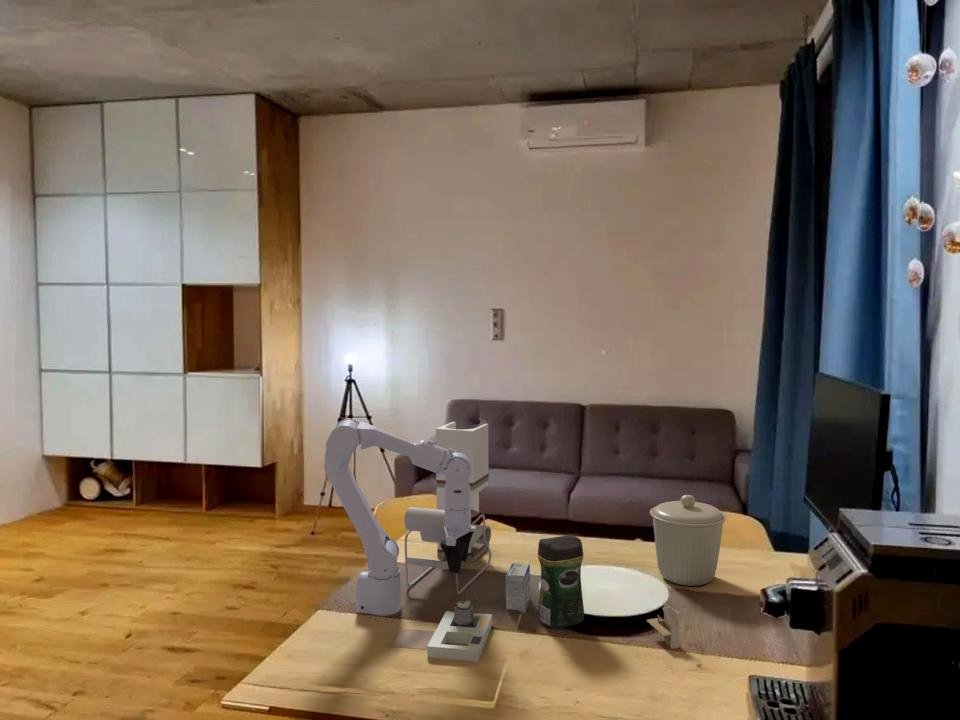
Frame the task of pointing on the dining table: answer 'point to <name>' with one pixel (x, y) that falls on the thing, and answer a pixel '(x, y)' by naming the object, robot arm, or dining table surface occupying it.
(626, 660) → the dining table surface
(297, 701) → the dining table surface
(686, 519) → the canister
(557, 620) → the coffee jar
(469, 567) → the dining table surface
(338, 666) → the dining table surface
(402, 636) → the brown square tile
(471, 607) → the plug
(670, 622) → the architectural model
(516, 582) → the medicine box
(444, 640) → the port box
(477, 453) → the tall white box
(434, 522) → the chair
